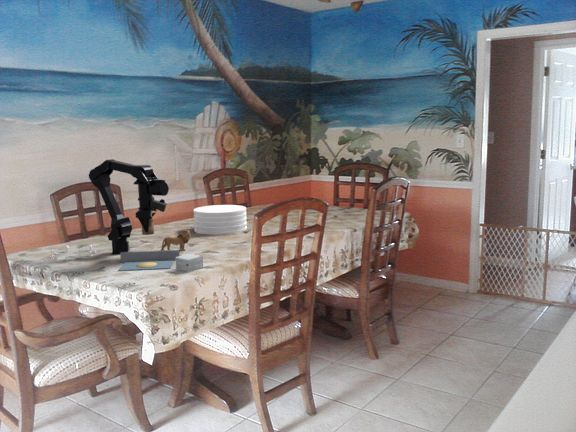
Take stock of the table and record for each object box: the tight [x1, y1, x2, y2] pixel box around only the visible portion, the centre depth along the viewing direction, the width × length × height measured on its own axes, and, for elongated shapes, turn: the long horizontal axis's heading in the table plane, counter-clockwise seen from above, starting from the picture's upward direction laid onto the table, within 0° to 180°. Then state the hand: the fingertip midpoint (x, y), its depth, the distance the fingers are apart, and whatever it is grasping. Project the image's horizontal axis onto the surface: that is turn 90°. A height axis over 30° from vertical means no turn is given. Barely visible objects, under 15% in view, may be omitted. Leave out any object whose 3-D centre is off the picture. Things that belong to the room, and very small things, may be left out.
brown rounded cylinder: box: [141, 218, 155, 236], centre depth 239 cm, size 5×5×6 cm
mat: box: [117, 260, 175, 272], centre depth 223 cm, size 20×12×1 cm, turn 95°
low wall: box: [119, 249, 181, 263], centre depth 232 cm, size 24×1×4 cm, turn 95°
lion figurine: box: [159, 229, 192, 252], centre depth 249 cm, size 15×5×9 cm, turn 120°
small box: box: [175, 253, 204, 273], centre depth 217 cm, size 8×8×5 cm
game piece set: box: [49, 244, 97, 261], centre depth 245 cm, size 19×20×4 cm
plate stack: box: [193, 204, 248, 236], centre depth 297 cm, size 28×28×12 cm
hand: (147, 230), depth 240 cm, fingers closed on brown rounded cylinder, 5 cm apart
